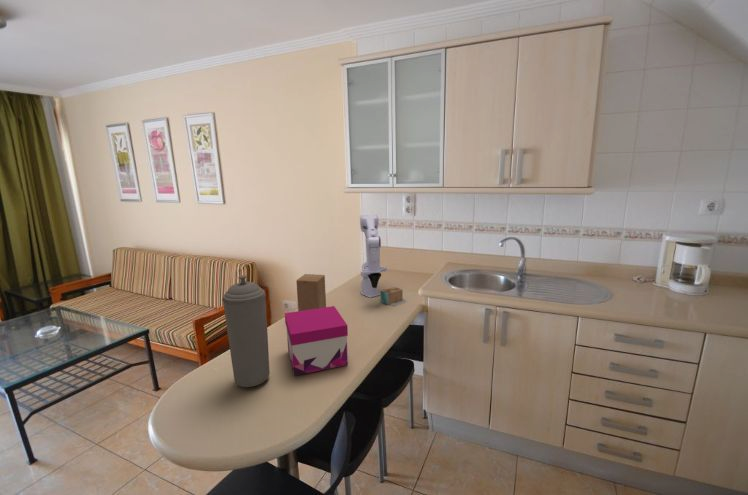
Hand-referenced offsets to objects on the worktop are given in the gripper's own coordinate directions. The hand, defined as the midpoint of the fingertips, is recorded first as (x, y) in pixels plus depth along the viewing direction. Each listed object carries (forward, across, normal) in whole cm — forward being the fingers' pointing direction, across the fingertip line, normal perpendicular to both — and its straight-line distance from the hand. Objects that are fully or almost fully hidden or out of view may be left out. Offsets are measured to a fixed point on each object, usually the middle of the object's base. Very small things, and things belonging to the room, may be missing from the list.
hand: (374, 287), depth 168 cm
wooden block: (+11, -31, +7) cm, 33 cm away
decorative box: (+11, -46, -25) cm, 53 cm away
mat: (+10, +13, 0) cm, 16 cm away
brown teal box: (+7, +6, 0) cm, 9 cm away
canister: (+10, -69, -24) cm, 74 cm away
